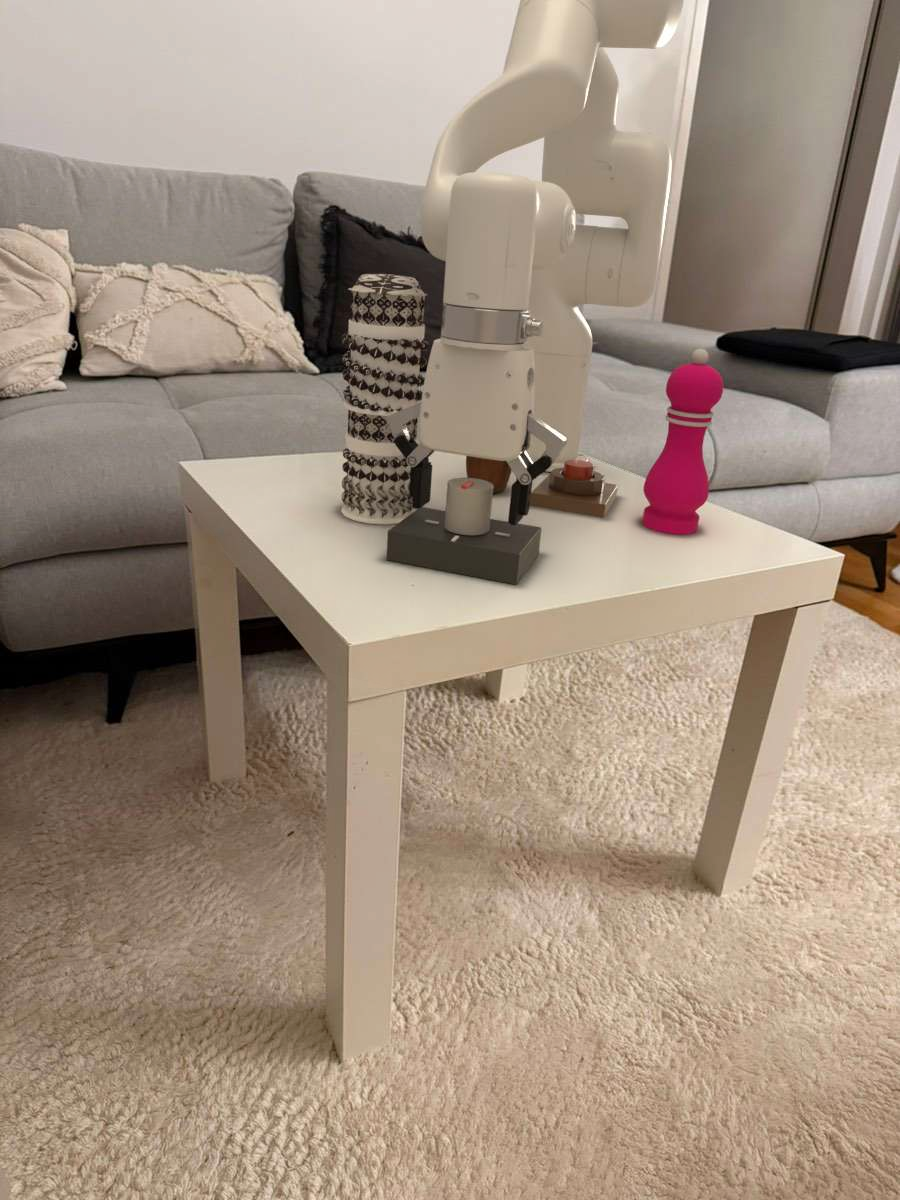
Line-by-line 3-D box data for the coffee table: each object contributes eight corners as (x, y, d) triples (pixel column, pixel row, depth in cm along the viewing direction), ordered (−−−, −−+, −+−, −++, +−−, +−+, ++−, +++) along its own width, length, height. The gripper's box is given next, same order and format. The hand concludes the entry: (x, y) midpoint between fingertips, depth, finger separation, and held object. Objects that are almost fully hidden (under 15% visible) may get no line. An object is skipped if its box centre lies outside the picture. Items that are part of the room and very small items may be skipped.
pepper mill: (633, 529, 97) (663, 348, 89) (642, 513, 103) (671, 342, 95) (698, 541, 94) (734, 355, 87) (703, 523, 101) (738, 349, 93)
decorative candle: (361, 529, 90) (369, 277, 80) (324, 504, 97) (328, 270, 87) (435, 520, 94) (451, 281, 85) (394, 497, 101) (405, 274, 92)
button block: (547, 486, 111) (550, 460, 110) (616, 497, 109) (620, 470, 107) (529, 506, 102) (532, 477, 101) (603, 518, 100) (607, 489, 98)
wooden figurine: (505, 499, 104) (518, 374, 98) (459, 494, 105) (469, 369, 99) (513, 485, 110) (525, 367, 104) (469, 480, 111) (479, 362, 105)
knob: (452, 518, 85) (456, 472, 84) (494, 525, 84) (499, 478, 82) (438, 530, 82) (441, 482, 80) (481, 538, 80) (486, 489, 79)
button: (565, 471, 106) (567, 458, 106) (594, 476, 105) (596, 462, 105) (560, 478, 103) (561, 464, 102) (589, 482, 102) (591, 468, 101)
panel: (418, 533, 90) (420, 505, 89) (538, 555, 86) (542, 525, 85) (386, 560, 82) (387, 529, 81) (516, 584, 78) (519, 552, 77)
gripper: (587, 335, 77) (563, 517, 83) (408, 316, 81) (399, 490, 88) (570, 342, 70) (546, 539, 77) (377, 321, 75) (369, 508, 81)
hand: (467, 513), depth 82 cm, fingers open, 9 cm apart
